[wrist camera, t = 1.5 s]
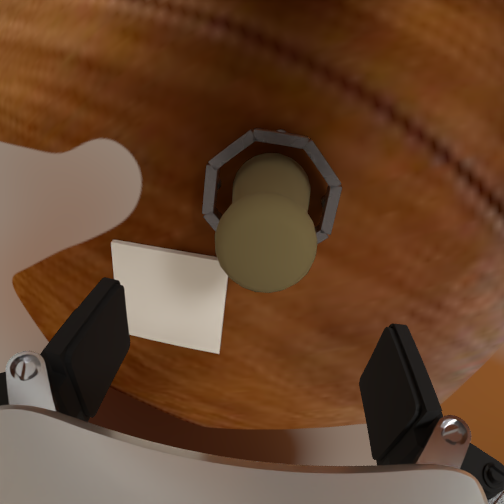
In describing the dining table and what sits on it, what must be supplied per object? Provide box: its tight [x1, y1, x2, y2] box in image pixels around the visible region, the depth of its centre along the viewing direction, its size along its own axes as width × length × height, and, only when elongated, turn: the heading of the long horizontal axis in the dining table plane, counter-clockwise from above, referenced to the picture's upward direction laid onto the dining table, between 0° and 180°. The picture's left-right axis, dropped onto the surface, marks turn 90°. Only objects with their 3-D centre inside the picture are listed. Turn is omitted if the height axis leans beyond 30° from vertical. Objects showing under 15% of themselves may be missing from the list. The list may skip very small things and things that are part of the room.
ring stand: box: [202, 128, 342, 244], centre depth 24 cm, size 10×10×2 cm
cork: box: [215, 153, 317, 293], centre depth 20 cm, size 6×6×11 cm
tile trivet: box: [111, 240, 228, 354], centre depth 30 cm, size 11×11×1 cm
